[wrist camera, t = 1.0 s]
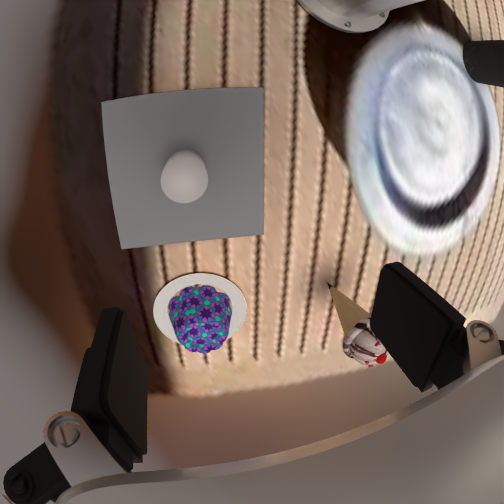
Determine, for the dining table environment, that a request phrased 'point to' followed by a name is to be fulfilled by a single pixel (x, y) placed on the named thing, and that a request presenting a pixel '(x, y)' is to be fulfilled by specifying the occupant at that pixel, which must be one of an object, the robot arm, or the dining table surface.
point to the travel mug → (485, 61)
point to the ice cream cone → (357, 331)
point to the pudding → (200, 311)
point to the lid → (186, 165)
